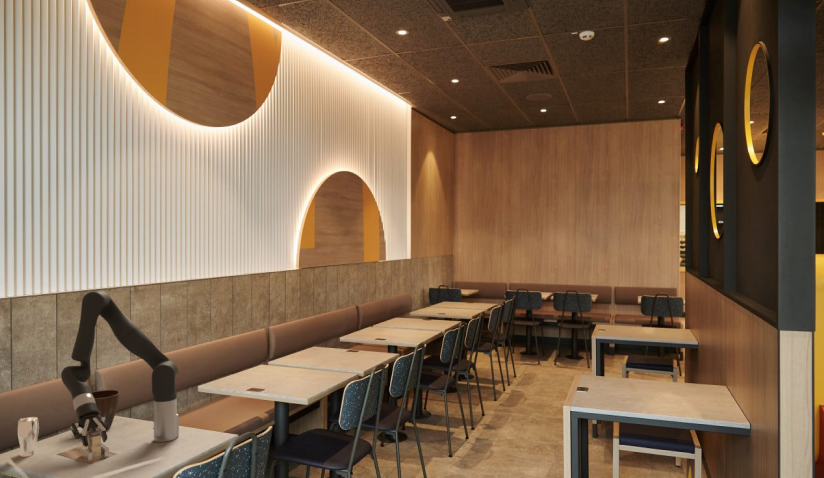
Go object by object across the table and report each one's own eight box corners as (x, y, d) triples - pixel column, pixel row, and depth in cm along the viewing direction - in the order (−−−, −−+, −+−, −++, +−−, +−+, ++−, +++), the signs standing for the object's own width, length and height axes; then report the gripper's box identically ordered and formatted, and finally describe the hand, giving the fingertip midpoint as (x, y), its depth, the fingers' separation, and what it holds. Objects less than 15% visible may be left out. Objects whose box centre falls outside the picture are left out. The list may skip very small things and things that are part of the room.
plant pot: (98, 422, 262) (98, 389, 262) (127, 423, 260) (126, 390, 260) (74, 433, 247) (74, 398, 247) (105, 435, 245) (104, 399, 245)
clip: (80, 456, 218) (80, 447, 218) (100, 450, 223) (100, 442, 223) (88, 462, 212) (88, 453, 212) (108, 456, 217) (108, 448, 217)
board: (83, 447, 230) (83, 445, 230) (117, 456, 220) (117, 453, 220) (56, 457, 220) (56, 454, 220) (90, 467, 210) (90, 464, 210)
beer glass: (28, 460, 217) (27, 422, 217) (13, 459, 218) (13, 421, 218) (43, 453, 224) (42, 417, 224) (28, 452, 225) (28, 416, 225)
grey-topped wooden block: (88, 455, 218) (87, 432, 218) (96, 452, 220) (96, 430, 220) (92, 458, 215) (92, 435, 215) (100, 456, 217) (100, 433, 217)
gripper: (67, 406, 217) (77, 443, 209) (106, 398, 228) (118, 433, 220) (63, 416, 221) (73, 453, 213) (102, 408, 231) (113, 443, 223)
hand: (96, 443), depth 216 cm, fingers open, 6 cm apart
